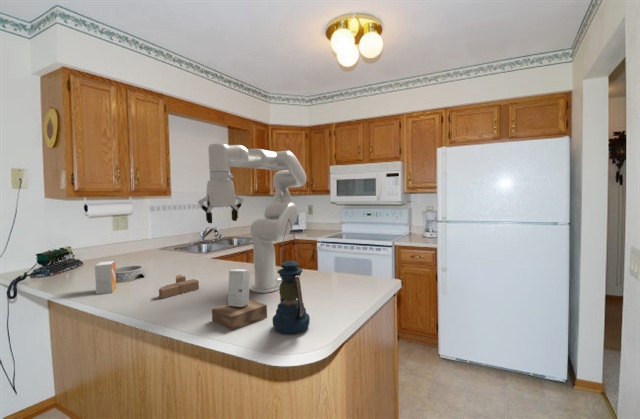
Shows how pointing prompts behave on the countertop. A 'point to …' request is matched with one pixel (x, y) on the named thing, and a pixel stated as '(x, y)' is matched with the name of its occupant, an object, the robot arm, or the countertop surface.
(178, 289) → the wooden block set
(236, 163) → the robot arm
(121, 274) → the dog bowl
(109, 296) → the countertop surface
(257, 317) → the brown cardboard box
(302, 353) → the countertop surface
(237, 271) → the skincare box
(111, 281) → the small box
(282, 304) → the lantern
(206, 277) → the countertop surface
